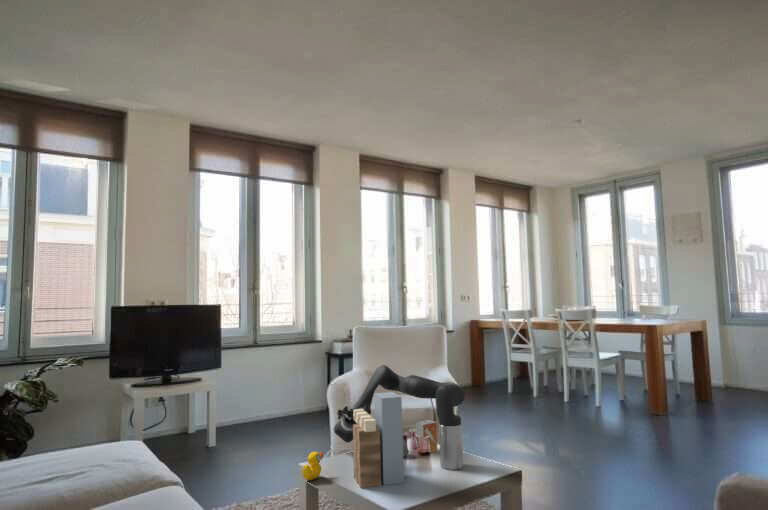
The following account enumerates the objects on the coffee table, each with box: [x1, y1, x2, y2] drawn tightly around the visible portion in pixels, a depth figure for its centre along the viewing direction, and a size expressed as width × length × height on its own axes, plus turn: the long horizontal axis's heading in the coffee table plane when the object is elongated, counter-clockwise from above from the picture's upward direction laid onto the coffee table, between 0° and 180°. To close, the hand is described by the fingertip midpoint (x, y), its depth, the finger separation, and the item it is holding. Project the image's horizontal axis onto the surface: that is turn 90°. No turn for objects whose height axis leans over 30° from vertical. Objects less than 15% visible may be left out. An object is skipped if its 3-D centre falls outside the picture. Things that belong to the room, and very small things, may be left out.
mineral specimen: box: [403, 438, 409, 457], centre depth 225 cm, size 7×9×8 cm
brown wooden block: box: [352, 424, 382, 489], centre depth 194 cm, size 12×8×20 cm, turn 15°
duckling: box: [302, 451, 324, 481], centre depth 198 cm, size 11×5×10 cm, turn 150°
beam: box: [353, 409, 376, 432], centre depth 198 cm, size 22×4×4 cm, turn 15°
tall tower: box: [373, 391, 405, 486], centre depth 197 cm, size 12×8×32 cm, turn 15°
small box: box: [414, 419, 438, 453], centre depth 231 cm, size 8×6×13 cm
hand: (356, 407), depth 211 cm, fingers open, 8 cm apart
